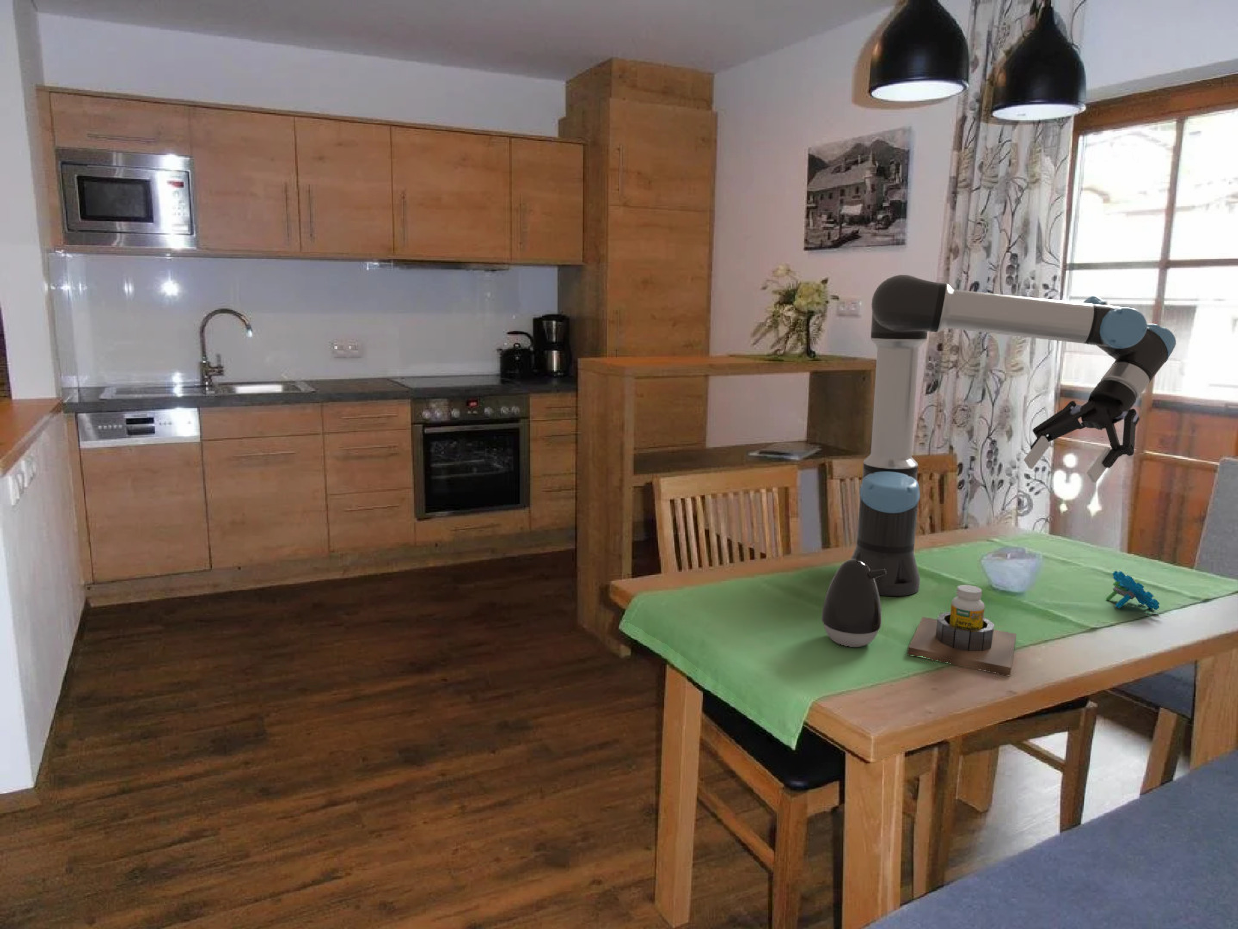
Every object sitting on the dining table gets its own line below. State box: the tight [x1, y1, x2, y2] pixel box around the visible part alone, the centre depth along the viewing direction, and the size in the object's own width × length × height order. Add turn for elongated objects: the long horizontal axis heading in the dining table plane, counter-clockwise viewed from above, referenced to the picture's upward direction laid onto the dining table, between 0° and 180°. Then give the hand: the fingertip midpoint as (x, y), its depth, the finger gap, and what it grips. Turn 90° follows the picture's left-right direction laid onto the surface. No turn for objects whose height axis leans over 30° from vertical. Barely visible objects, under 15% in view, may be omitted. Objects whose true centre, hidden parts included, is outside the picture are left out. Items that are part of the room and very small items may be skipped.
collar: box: [936, 611, 995, 651], centre depth 146 cm, size 9×9×4 cm
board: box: [907, 616, 1017, 676], centre depth 147 cm, size 16×16×2 cm
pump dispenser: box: [821, 558, 886, 648], centre depth 148 cm, size 10×10×15 cm
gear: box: [1105, 570, 1160, 611], centre depth 168 cm, size 11×6×10 cm
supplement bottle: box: [950, 584, 986, 629], centre depth 146 cm, size 5×5×10 cm
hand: (1058, 471), depth 163 cm, fingers open, 13 cm apart
